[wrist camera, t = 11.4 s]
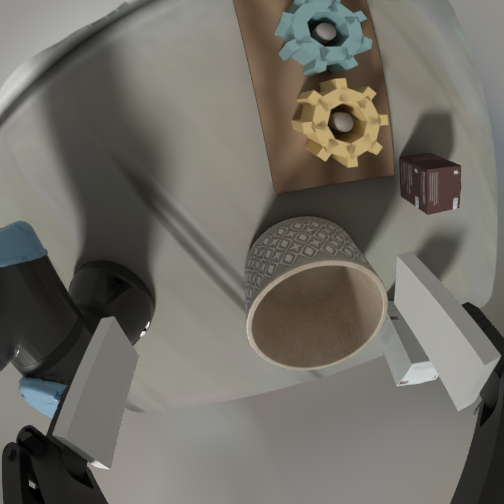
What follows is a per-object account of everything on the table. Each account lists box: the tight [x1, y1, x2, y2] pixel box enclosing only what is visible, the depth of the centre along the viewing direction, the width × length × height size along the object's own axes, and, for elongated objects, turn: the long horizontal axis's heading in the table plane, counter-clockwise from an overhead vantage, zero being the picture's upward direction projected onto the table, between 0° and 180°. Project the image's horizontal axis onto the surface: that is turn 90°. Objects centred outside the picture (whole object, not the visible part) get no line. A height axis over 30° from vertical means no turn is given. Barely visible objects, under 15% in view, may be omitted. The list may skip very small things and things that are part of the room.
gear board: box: [233, 0, 394, 194], centre depth 27 cm, size 16×26×7 cm, turn 11°
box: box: [399, 153, 461, 215], centre depth 32 cm, size 6×6×7 cm
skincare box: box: [376, 301, 438, 386], centre depth 41 cm, size 8×6×15 cm
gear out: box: [292, 78, 389, 168], centre depth 28 cm, size 9×9×6 cm
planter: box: [245, 216, 388, 370], centre depth 36 cm, size 16×16×13 cm
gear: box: [274, 0, 372, 76], centre depth 23 cm, size 9×9×6 cm
